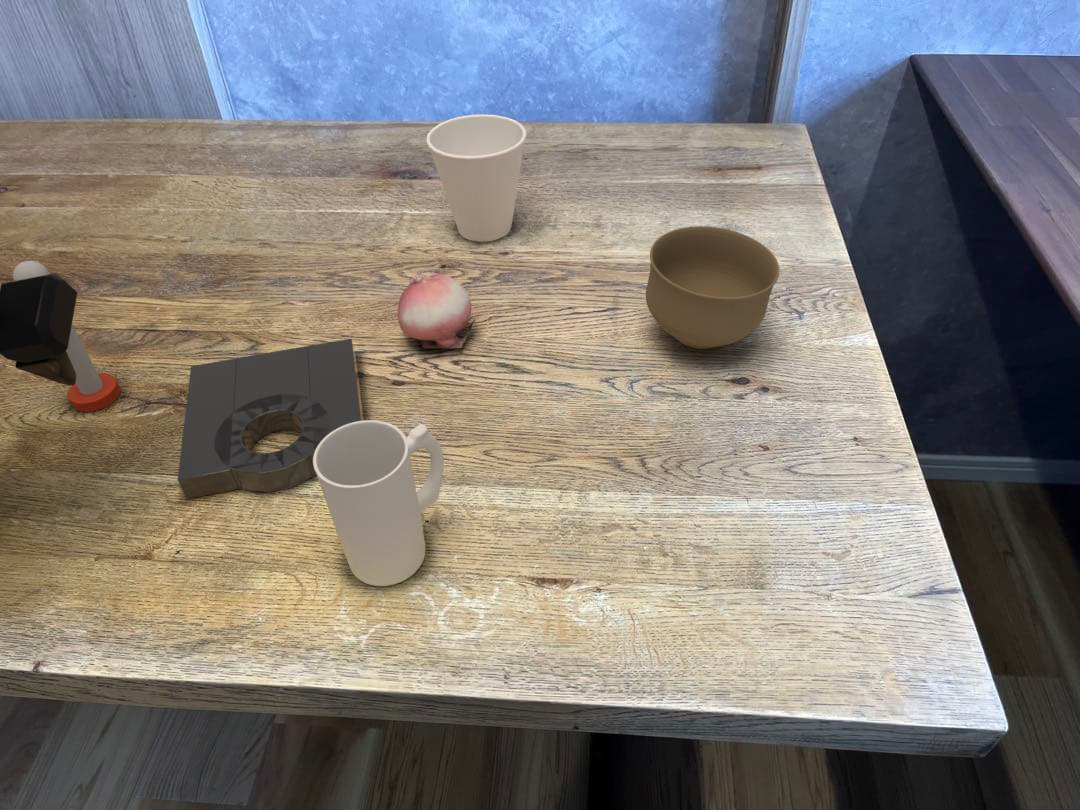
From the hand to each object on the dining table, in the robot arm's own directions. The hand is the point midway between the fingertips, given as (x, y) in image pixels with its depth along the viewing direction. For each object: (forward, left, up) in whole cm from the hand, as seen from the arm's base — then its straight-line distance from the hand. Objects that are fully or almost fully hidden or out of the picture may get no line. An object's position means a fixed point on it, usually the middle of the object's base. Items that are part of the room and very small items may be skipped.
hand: (20, 390), depth 67 cm
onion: (+35, +12, -11) cm, 39 cm away
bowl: (+62, +4, -11) cm, 63 cm away
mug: (+28, -15, -11) cm, 34 cm away
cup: (+44, +33, -11) cm, 56 cm away
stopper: (0, +12, -11) cm, 16 cm away
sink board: (+18, +3, -11) cm, 21 cm away
